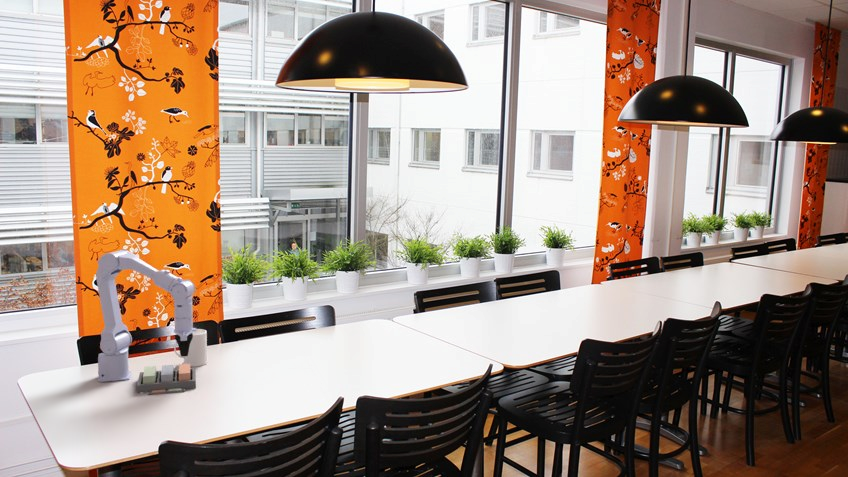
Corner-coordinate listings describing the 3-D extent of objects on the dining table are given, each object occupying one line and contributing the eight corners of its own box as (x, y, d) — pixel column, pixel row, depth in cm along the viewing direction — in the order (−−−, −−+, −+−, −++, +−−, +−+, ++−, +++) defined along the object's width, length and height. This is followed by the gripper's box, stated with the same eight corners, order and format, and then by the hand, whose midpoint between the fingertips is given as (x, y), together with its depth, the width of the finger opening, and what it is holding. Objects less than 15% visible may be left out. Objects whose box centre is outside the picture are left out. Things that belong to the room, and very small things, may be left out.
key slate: (161, 385, 219) (160, 375, 218) (162, 375, 228) (162, 365, 228) (172, 384, 220) (172, 374, 219) (173, 374, 229) (173, 364, 229)
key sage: (143, 386, 217) (142, 376, 216) (145, 376, 226) (144, 366, 226) (154, 385, 218) (154, 375, 218) (156, 375, 227) (156, 366, 227)
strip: (148, 394, 214) (148, 392, 214) (148, 392, 216) (148, 390, 216) (184, 391, 217) (184, 389, 217) (184, 389, 219) (184, 387, 219)
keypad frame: (137, 393, 215) (136, 385, 215) (140, 379, 227) (139, 372, 227) (195, 388, 221) (195, 380, 221) (195, 375, 233) (195, 368, 233)
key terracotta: (178, 383, 220) (178, 373, 220) (179, 373, 230) (179, 364, 229) (190, 382, 222) (190, 372, 221) (190, 372, 231) (190, 363, 231)
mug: (176, 369, 239) (175, 337, 237) (172, 362, 246) (171, 331, 244) (209, 365, 244) (209, 333, 243) (205, 358, 252) (204, 327, 250)
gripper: (196, 321, 217) (197, 361, 219) (196, 310, 231) (196, 348, 233) (173, 322, 215) (174, 363, 217) (174, 311, 229) (175, 350, 230)
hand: (184, 355), depth 225 cm, fingers closed
